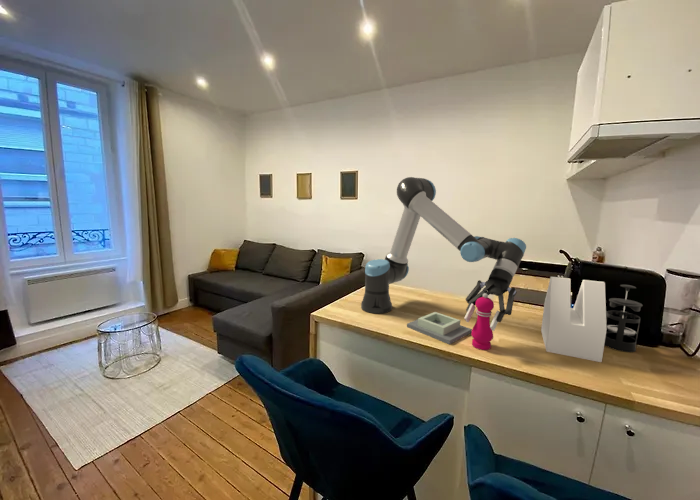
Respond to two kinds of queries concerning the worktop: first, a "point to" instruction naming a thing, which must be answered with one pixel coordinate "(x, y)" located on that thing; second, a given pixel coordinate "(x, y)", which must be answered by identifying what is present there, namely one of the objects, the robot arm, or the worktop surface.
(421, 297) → the worktop surface
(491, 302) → the pepper mill
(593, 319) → the white notched cradle block
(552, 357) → the worktop surface
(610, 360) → the worktop surface
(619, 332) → the french press
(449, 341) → the socket board
